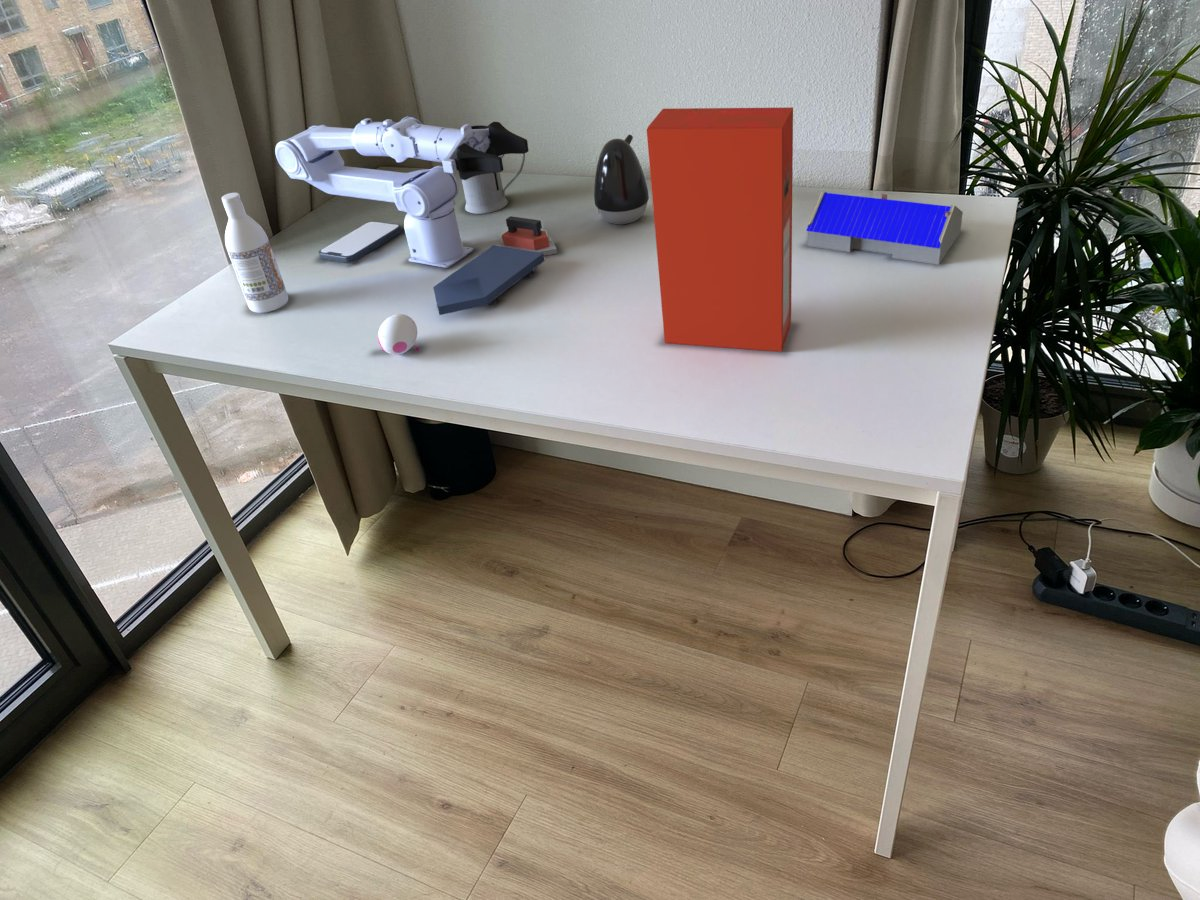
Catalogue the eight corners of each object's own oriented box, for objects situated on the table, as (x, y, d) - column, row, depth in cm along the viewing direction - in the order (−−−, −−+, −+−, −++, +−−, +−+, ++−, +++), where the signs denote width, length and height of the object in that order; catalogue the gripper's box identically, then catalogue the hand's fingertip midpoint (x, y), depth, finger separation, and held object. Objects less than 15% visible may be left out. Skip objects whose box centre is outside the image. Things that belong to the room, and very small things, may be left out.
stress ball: (400, 357, 150) (369, 328, 147) (434, 329, 147) (403, 299, 144) (389, 381, 144) (356, 351, 141) (424, 352, 141) (391, 321, 138)
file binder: (781, 353, 132) (782, 127, 113) (664, 344, 138) (646, 127, 119) (791, 325, 138) (793, 106, 119) (678, 318, 144) (663, 107, 125)
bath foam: (292, 306, 162) (254, 196, 150) (252, 318, 160) (211, 207, 148) (285, 291, 168) (248, 184, 156) (246, 302, 165) (206, 195, 154)
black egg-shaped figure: (660, 211, 178) (654, 131, 169) (633, 233, 171) (625, 151, 162) (615, 205, 183) (607, 127, 174) (586, 226, 176) (576, 146, 167)
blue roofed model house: (961, 231, 156) (966, 189, 152) (937, 266, 147) (942, 222, 143) (835, 215, 167) (836, 176, 163) (805, 247, 158) (806, 206, 154)
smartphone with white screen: (371, 227, 188) (317, 260, 177) (369, 220, 187) (314, 252, 176) (405, 232, 184) (352, 265, 173) (403, 224, 183) (349, 257, 172)
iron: (500, 251, 171) (495, 222, 168) (516, 239, 174) (511, 211, 171) (549, 259, 166) (545, 229, 163) (564, 247, 169) (560, 218, 166)
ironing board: (416, 317, 154) (411, 301, 152) (496, 260, 168) (493, 244, 166) (468, 329, 148) (464, 312, 147) (546, 268, 163) (543, 252, 161)
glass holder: (471, 197, 195) (456, 125, 186) (537, 194, 192) (525, 120, 183) (460, 214, 188) (444, 140, 179) (528, 211, 185) (516, 135, 176)
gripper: (415, 139, 149) (485, 149, 144) (466, 106, 159) (534, 114, 153) (424, 180, 154) (492, 191, 148) (474, 146, 163) (539, 155, 158)
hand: (514, 155), depth 151 cm, fingers open, 7 cm apart
